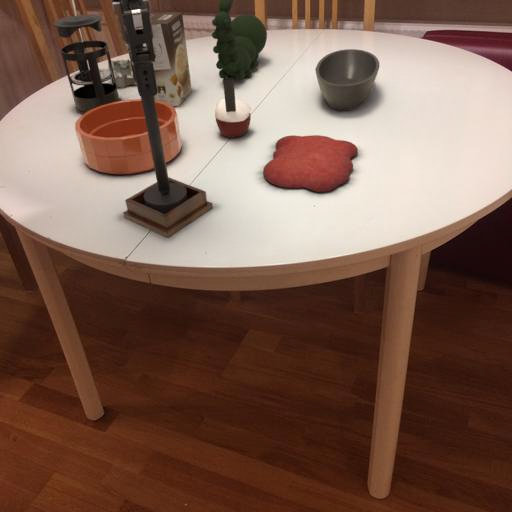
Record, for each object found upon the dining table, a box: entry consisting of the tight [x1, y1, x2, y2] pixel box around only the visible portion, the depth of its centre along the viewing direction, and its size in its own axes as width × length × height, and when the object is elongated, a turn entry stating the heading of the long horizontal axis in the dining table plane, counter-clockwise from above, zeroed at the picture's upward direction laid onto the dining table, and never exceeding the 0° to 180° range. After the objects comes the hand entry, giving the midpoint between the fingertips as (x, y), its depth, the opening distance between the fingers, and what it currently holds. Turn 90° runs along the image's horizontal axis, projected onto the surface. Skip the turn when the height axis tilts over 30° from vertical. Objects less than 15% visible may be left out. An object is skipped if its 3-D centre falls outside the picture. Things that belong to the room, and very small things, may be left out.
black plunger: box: [135, 48, 188, 214], centre depth 68 cm, size 6×6×22 cm
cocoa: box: [214, 77, 252, 139], centre depth 91 cm, size 10×6×12 cm, turn 158°
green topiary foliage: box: [211, 0, 268, 80], centre depth 117 cm, size 9×19×25 cm
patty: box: [262, 134, 358, 193], centre depth 84 cm, size 18×14×2 cm
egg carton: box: [107, 58, 137, 89], centre depth 121 cm, size 11×8×4 cm
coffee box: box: [144, 11, 193, 107], centre depth 106 cm, size 9×6×16 cm
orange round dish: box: [74, 98, 183, 175], centre depth 89 cm, size 17×17×6 cm
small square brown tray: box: [122, 176, 214, 238], centre depth 74 cm, size 9×9×3 cm
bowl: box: [315, 48, 380, 112], centre depth 104 cm, size 12×22×6 cm, turn 167°
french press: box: [53, 0, 122, 115], centre depth 103 cm, size 12×9×23 cm
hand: (145, 87), depth 64 cm, fingers open, 4 cm apart
